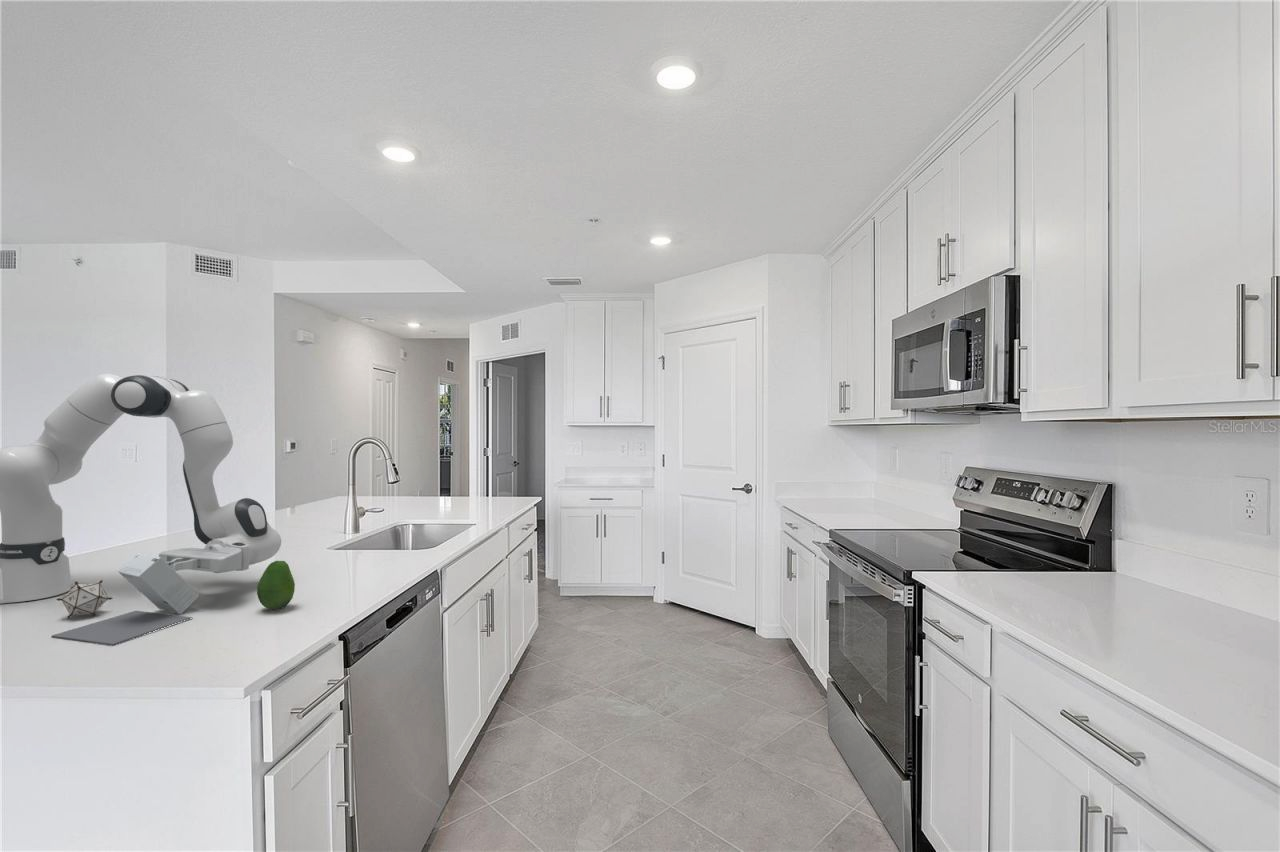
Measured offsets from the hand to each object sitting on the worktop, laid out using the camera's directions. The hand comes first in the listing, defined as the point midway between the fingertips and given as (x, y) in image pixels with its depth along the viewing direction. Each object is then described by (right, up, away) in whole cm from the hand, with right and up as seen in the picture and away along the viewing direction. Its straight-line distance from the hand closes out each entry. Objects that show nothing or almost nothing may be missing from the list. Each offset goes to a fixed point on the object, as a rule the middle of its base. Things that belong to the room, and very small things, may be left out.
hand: (169, 567), depth 142 cm
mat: (-2, -11, -9) cm, 15 cm away
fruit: (+23, -12, +5) cm, 26 cm away
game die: (-18, -11, -2) cm, 21 cm away
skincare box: (+1, -9, +3) cm, 10 cm away
